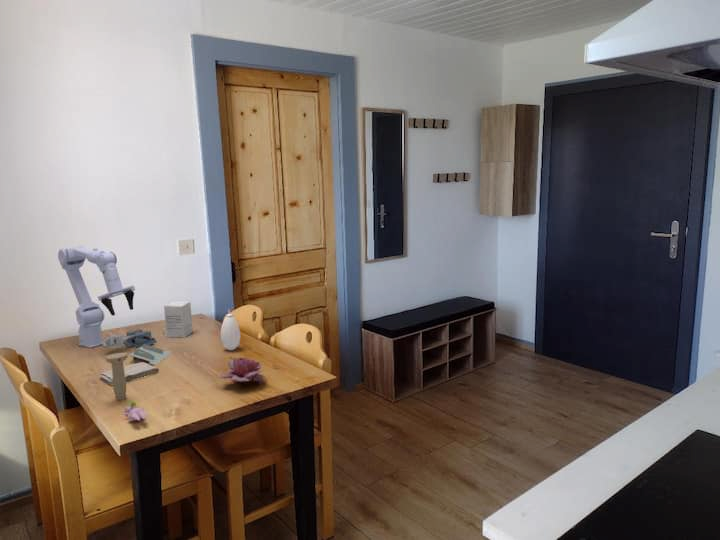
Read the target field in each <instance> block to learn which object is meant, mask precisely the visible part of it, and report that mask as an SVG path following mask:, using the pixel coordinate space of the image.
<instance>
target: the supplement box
mask: <svg viewBox="0 0 720 540" xmlns="http://www.w3.org/2000/svg"><path fill="white" fill-rule="evenodd" d="M191 305H192V304H191V301H180V300H179V301H178V300H176V301H175V300H174V301H172V302H171V301H170V302H169V303H168V304H166V305H164V306H163V309H164V320H165V329H166V331H165V332H166V333H165V334H166V338H181V337H182V338H186V337H187V336H189V335H190V334H192V333H193V332H194V331H193V318H192V307H191Z"/></svg>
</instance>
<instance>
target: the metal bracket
mask: <svg viewBox="0 0 720 540" xmlns="http://www.w3.org/2000/svg"><path fill="white" fill-rule="evenodd" d="M171 353H173V351H171V350H165V351H164V349H162V348H159V347H156V346H148V345H146V344H144V345H143V346H142V347H140V348H136V347H134V349H133V352H131V353H129V356H130V357H132V360H133V359H134V358H135V359H140V360H144V361H147V362H148V365H150V366H154V365H156V364H158V363H159V362H160V361H161V360H163V359H164V358H165V357H166V356H168V355H170V354H171ZM170 356H171V355H170ZM136 357H137V358H136ZM168 357H169V356H168ZM135 359H134V360H135ZM165 359H166V358H165ZM165 359H164V360H165ZM164 360H163V361H164ZM161 362H162V361H161ZM161 362H160V363H161ZM160 363H159V364H160ZM159 364H158V365H159ZM156 366H157V365H156Z"/></svg>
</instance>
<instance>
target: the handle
mask: <svg viewBox="0 0 720 540" xmlns="http://www.w3.org/2000/svg"><path fill="white" fill-rule="evenodd" d="M127 359H128V353H127V352H117V353H112V354H109V355H107V356H105V361H106V362H107V363H109V364H111V368H112V369H111V370H112V374H113V386H112V387H113V393H114V395H115V396H114V397H115V400H116V401H123V400H125V399H126V398H127V394H126V393H127V382H126V379H125V373H124V367H125V366H124V361H126V360H127Z"/></svg>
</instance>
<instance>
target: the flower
mask: <svg viewBox="0 0 720 540" xmlns="http://www.w3.org/2000/svg"><path fill="white" fill-rule="evenodd" d="M227 367H228V368H229V369H230V371H229V372H226V373H222V374H220V378H222V379H230V381H232V382H237V383H243V382H244V383H243V384H244V385H246V382H259V385H261V384H263V379H264V378H266V376H265V375H263V374H260V373H262V371H263V369H261V368H262V364H261V362H260V361H255V360H254V359H250V358H247V357H242V356H239V357H238V358H237V357H235V358H233V359H231V360H229V361H227Z"/></svg>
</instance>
